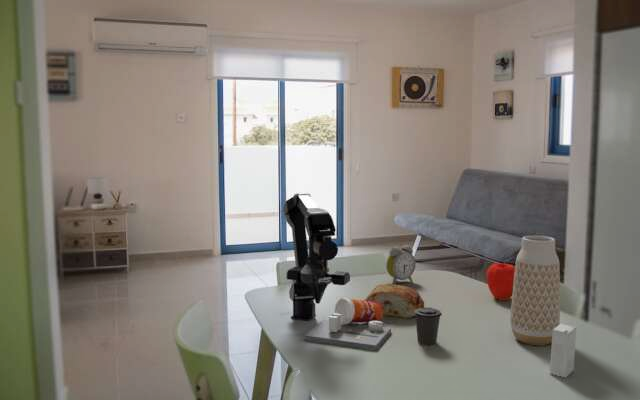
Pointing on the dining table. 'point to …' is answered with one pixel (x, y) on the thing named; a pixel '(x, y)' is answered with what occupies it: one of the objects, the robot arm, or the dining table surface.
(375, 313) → the coffee cup
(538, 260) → the vase
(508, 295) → the apple
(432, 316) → the coffee cup
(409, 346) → the dining table surface
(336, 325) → the fader
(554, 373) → the skincare box
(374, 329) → the console
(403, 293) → the bread
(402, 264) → the alarm clock
